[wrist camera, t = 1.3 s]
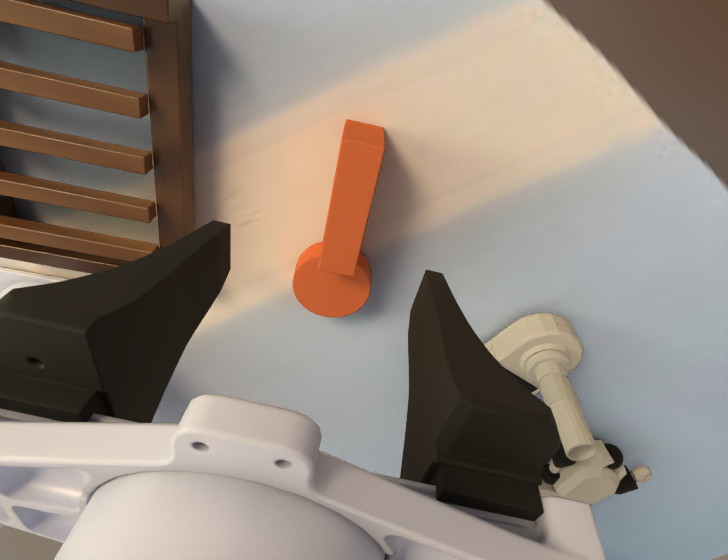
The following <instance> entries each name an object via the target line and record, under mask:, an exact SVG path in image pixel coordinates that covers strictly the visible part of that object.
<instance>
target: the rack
mask: <svg viewBox="0 0 728 560" xmlns="http://www.w3.org/2000/svg"><path fill="white" fill-rule="evenodd" d="M71 1H75V2H79V3H84V4H88V5H92V6H96V7H100V8H104V9H108V10H113V11H117V12H121V13H125V14H129V15H133V16H137V17H142V18H143V23H144V37H145V50H146V64H147V78H148V91H149V105H150V118H151V132H152V146H153V159H154V173H155V186H156V200H157V214H158V227H159V241H160V248H159V245H157V244H152V243H146V242H141V241H136V240H130V239H125V238H120V237H114V236H109V235H103V234H98V233H93V232H87V231H82V230H77V229H71V228H66V227H61V226H55V225H50V224H45V223H39V222H34V221H29V220H23V219H18V218H17V217H16V213H15V210H14V206H13V203H12V199H11V197H16V198H21V199H26V200H31V201H36V202H42V203H47V204H52V205H57V206H62V207H68V208H73V209H78V210H83V211H89V212H94V213H99V214H104V215H109V216H115V217H120V218H125V219H130V220H135V221H141V222H146V223H150V222H151V221H152V220H153V219H154V218H155V217H156V205H155V202H154V201H150V200H145V199H140V198H135V197H129V196H124V195H119V194H114V193H109V192H104V191H99V190H94V189H89V188H84V187H79V186H74V185H69V184H64V183H59V182H53V181H48V180H43V179H38V178H33V177H28V176H23V175H18V174H13V173H8V172H3V168H2V165H1V161H0V257H2V258H7V259H13V260H19V261H24V262H30V263H36V264H41V265H47V266H52V267H58V268H64V269H69V270H75V271H81V272H86V273H92V274H94V273H98V272H101V271H105V270H108V269H111V268H115V267H118V266H121V265H123V264H126V263H129V262H132V261H134V260H137V259H139V258H142V257H144V256H146V255H149V254H151V253H153V252H155V251H157V250H159V249H161V248H163V247H165V246H167V245H169V244H171V243H173V242H175V241H177V240H179V239H181V238H183V237H184V236H186V235H188V234H190V233H192V232H193V231H195V230H194V175H193V120H192V65H191V10H190V0H71ZM0 21H1V22H5V23H9V24H14V25H18V26H22V27H26V28H31V29H35V30H39V31H44V32H48V33H52V34H57V35H61V36H65V37H70V38H74V39H78V40H83V41H87V42H91V43H95V44H100V45H104V46H108V47H113V48H117V49H121V50H126V51H130V52H138V51H141V50H144V44H143V31H142V27H141V26H137V25H133V24H129V23H125V22H121V21H117V20H112V19H108V18H104V17H100V16H96V15H91V14H87V13H83V12H79V11H75V10H70V9H66V8H62V7H58V6H54V5H50V4H45V3H41V2H37V1H33V0H0ZM0 88H1V89H6V90H10V91H15V92H20V93H24V94H29V95H33V96H38V97H43V98H47V99H52V100H57V101H61V102H66V103H70V104H75V105H80V106H84V107H89V108H94V109H98V110H103V111H107V112H112V113H117V114H121V115H126V116H130V117H135V118H142V117H144V116H146V115H148V114H149V109H148V96H147V94H144V93H140V92H135V91H131V90H126V89H122V88H118V87H113V86H109V85H104V84H100V83H95V82H91V81H86V80H82V79H77V78H73V77H68V76H64V75H59V74H55V73H50V72H46V71H41V70H37V69H32V68H28V67H23V66H19V65H14V64H10V63H5V62H1V61H0ZM0 145H1V146H6V147H11V148H16V149H21V150H26V151H31V152H36V153H41V154H46V155H51V156H55V157H60V158H65V159H70V160H75V161H80V162H85V163H90V164H95V165H100V166H105V167H110V168H115V169H119V170H124V171H129V172H134V173H139V174H144V175H145V174H147V173H148V172H149V171H150V170H152V168H153V164H152V153H151V152H150V151H145V150H140V149H135V148H131V147H126V146H121V145H116V144H112V143H107V142H102V141H97V140H92V139H88V138H83V137H78V136H73V135H68V134H64V133H59V132H54V131H49V130H45V129H40V128H35V127H30V126H25V125H21V124H16V123H11V122H6V121H2V120H0Z"/></svg>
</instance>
